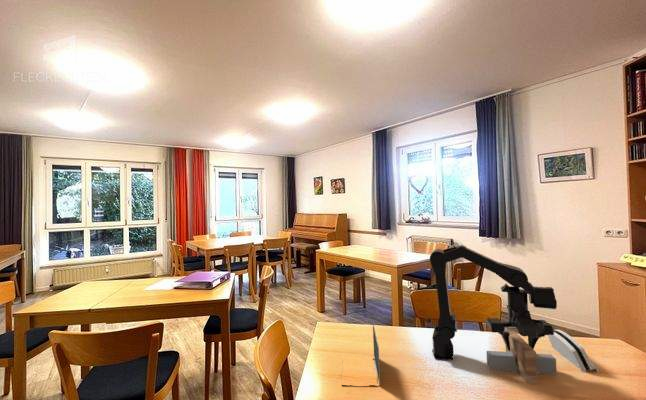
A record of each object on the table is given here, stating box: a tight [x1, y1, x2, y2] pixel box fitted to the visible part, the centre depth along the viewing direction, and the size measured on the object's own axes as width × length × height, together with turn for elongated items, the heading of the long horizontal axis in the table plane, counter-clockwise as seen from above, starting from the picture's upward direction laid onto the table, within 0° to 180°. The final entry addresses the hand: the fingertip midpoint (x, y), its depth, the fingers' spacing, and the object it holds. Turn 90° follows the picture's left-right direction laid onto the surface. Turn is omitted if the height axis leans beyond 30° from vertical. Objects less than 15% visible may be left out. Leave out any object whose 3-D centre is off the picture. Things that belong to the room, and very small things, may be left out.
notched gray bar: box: [486, 350, 558, 375], centre depth 100 cm, size 20×3×5 cm, turn 78°
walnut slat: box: [505, 329, 538, 385], centre depth 100 cm, size 16×3×10 cm, turn 168°
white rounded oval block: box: [547, 329, 600, 373], centre depth 106 cm, size 17×5×10 cm, turn 171°
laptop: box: [372, 324, 381, 386], centre depth 103 cm, size 18×12×13 cm
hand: (519, 351), depth 100 cm, fingers open, 6 cm apart
